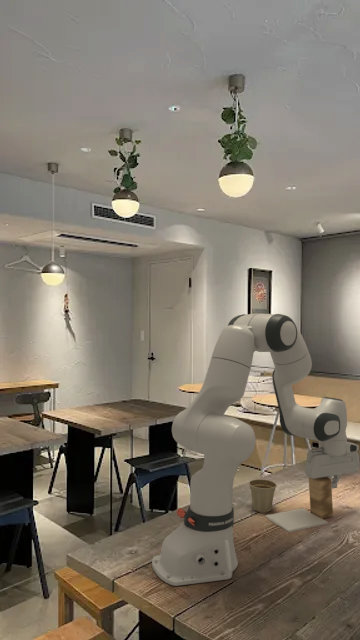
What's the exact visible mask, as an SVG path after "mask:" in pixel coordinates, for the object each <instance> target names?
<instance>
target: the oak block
mask: <svg viewBox="0 0 360 640" xmlns="http://www.w3.org/2000/svg"><path fill="white" fill-rule="evenodd" d="M331 482H332V479H330V478H327V477H321V478H315V479H312V478H310V477H308V489H309V506H310V507H309V508H310V511H309V512H310V513H312V514H314V515H316V516H318V517H319V518H321V519H323V520H325V519H327V518H330V517H333V516H334V508H333V505H334V504H333V489H332V486H331Z"/></svg>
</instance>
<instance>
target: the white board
mask: <svg viewBox="0 0 360 640" xmlns="http://www.w3.org/2000/svg"><path fill="white" fill-rule="evenodd" d="M265 518H266V519H267V520H269V521H270V522H272V523H273V524H275V525H276V526H278V527H280V528H282V529H283V530H284V531H286V532H287V533H293V532H296V531H302V530H305V529H310V528H311V529H312V528H315V527H319V526H320V527H321V526H325V525H328V522H329V521H327V520H325V519H321V518H319V517H318V516H316V515H314V514H312V513H311V511H308V510H306V508H305V509H304V508H303V507H302V508H297V509H292V510H291V509H290V510H287V511H282V512H277V513H271V514H266V515H265Z"/></svg>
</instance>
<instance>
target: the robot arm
mask: <svg viewBox="0 0 360 640" xmlns="http://www.w3.org/2000/svg"><path fill="white" fill-rule="evenodd" d="M255 352H259V353H270V357H271V359H272V362H273V365H274V370H273V371H272V374H271V375H272V376H271V377H272V378H271V379H272V386H273V390H274V394H275V399H276V403H277V407H278V412H279V424H280V427H281V429H282V431H283V432H284V433H285V434H286V435H288V436H293V437H299V438H304V439H308V440H313V441H317V442H318V447H317V448H311V449H310V450H309V451H308V452H307V453H306V460H305V461H306V462H305V470H304V474H305V475H306V477H308V478H312V479H315V478H321V477H327V478H330V479H331V486H332V490H333V489H337V488H338V483H339V481H340V479H341V475H346V474H351V473H357V472H358V470H359V469H360V454H359V452H358V451H360V450H359V449H360V448H359V447H360V446H359V445H358V444H357V443H356V444H355V443H353V442H350V441H348V437H347V436H348V435H347V432H346V430H347V426H348V412H347V411H348V410H347V406H346V401H344V400H343V399H341V398H336V397H329V396H323V397H322V398H321V400H320V403H319V405H318V406H316V407H315V408H308V407H303V406H301V405H300V404H298V403H297V402H296V398H295V394H294V391H293V390H294V389H293V385H295V384H298V383H300V382H301V381H303V380H304V379H306V378H307V376H308V375H309V374H310V372H311V370H312V366H313V363H312V357H311V354H310V351H309V349H308V346H307V344H306V341H305V339H304V337H303V335H302V333H301V331H300V330H299V328H298V326H297V324H296V323H295V322H294V320H293V319H292V318H291V317H290V316H288V315H286V314H281V313H275V314H273V313H263V312H258V313H256V312H255V313H249V314H240V315H236V316H234V317H232V319H231V320H230V321H229V322H228V324H227V326H225V327H224V328H222V331H221V332H220V335H219V336H218V338H217V341H216V343H215V346H214V348H213V352H212V354H211V357H210V362H209V365H208V368H207V372H206V375H205V378H204V381H203V384H202V386H201V388H200V390H199V392H198V393H197V394H196V397H195V398H194V399H193V400H192V402H191V403H190V404H189V405H188V406H187V407H186V408H185V409H183V410H181V411H180V412H179V413H178V414H176V415H175V417H174V419H173V421H172V425H171V434H172V438H173V439H174V441H175V442H176V443H178V444H179V445H180V446H182V447H183V448H185V449H186V450H189V451H191V452H195V453H199V454H201V455H203V457H204V460H203V465H202V468H200V469H199V470H197V471H195V473H193V474H192V476H191V478H190V482H189V483H190V484H189V485H190V487H189V494H190V496H189V506H188V508H187V511H186V510H184V509H183V507H182V508H181V507H180V508H178V509H177V510H176V515H177V516H178V517H180V518H181V519H183V522H182V523H181V524H179V526H177V528H175V529H174V530H173V531H172V532H171V533H170V534H169V535H167V536H166V537H165V538H164V540H163V541H162V544H161V549H160V554H158V555H155V556H153V557H152V559H151V560H152V561H151V568H152V570H153V571H154V573H155V575H156V576H157V577H158V578H159V579H160V580H162V581H163V582H165V583H167V585H170V586H176V587H177V586H184V585H185V586H186V585H193V584H194V585H195V584H200V583H209V582H217V581H223V580H224V581H225V580H230V579H231V578H233V572H234V571H235V570H236V569H237V567H238V565H239V560H238V557H237V554H236V549H235V543H234V531H233V528H234V523H235V521H234V520H235V511H234V510H235V509H234V507H233V493H234V492H233V490H234V488H233V487H234V482H235V481H234V480H235V479H234V478H235V475H236V473H237V471H238V469H239V467H240V466H241V465H242V463H244V462H245V461H247V460H249V458H250V457H251V456H252V455H253V452H254V450H255V448H256V440H257V439H256V434H255V431H254V429H253V427H252V426H251V425H250V424H249V423H247V422H244V421H243V420H240V419H238V418H236V417H232V416H229V415H225V413H226V411H228V410H229V409H228V408H229V407H231V406H232V405H233V404H235V403H237V402H239V401H240V400H241V399H242V398H243V397H244V395H245V392H246V388H247V384H248V380H249V375H250V372H251V368H252V364H253V363H252V362H253V359H254V353H255Z"/></svg>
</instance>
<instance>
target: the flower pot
mask: <svg viewBox="0 0 360 640" xmlns="http://www.w3.org/2000/svg"><path fill="white" fill-rule="evenodd" d="M248 485H249V489H250V494H251V495H250V496H251V501H252V509H253V511H257V512H258V513H268V512H271V511H272V508H273V502H274V495H275V491H276V488H277V486H278V485H277V482H274V481H272V480H269V479H261V478H260V479H259V478H258V479H251V480H250V481H248Z"/></svg>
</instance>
